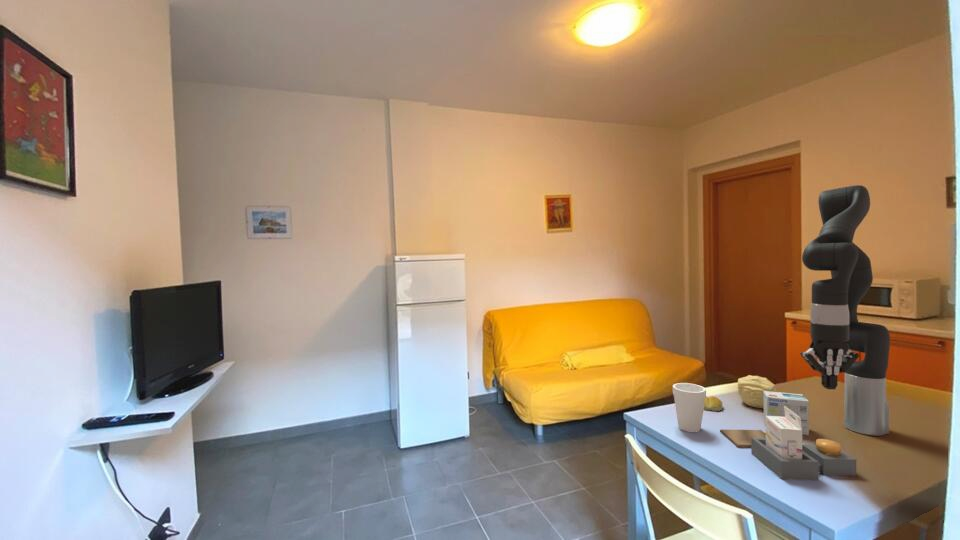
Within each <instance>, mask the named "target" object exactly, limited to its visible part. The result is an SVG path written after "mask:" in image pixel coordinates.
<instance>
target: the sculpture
mask: <svg viewBox="0 0 960 540" xmlns="http://www.w3.org/2000/svg"><path fill="white" fill-rule="evenodd" d="M763 391H769V392H778V391H777V389H776V385H775V384H774V383H773V382H772V381H770V380H769V379H768V378H767V377H762V376H759V375H750V374H748V375H746V376H743V377H739V378H738V379H737V393H738V395H739V397H740V399H741V401H742V402H743V403H744V404H745V405H747V406H749V407H753V408H756V409H764V394H763Z"/></svg>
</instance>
